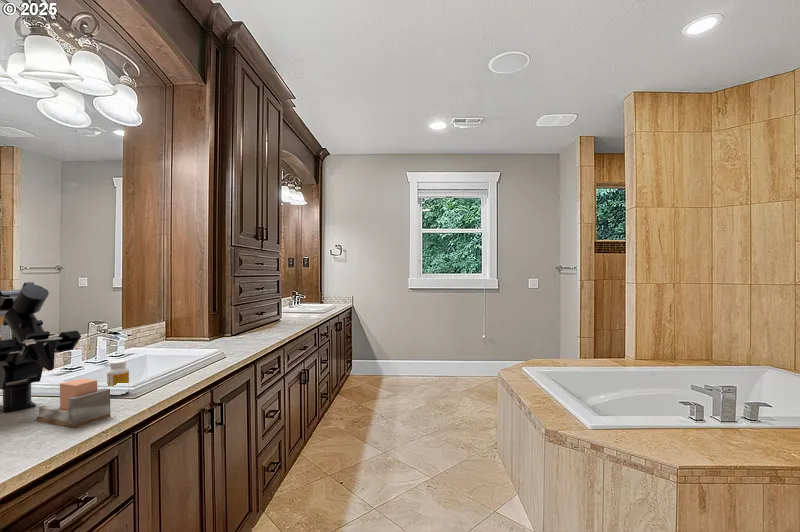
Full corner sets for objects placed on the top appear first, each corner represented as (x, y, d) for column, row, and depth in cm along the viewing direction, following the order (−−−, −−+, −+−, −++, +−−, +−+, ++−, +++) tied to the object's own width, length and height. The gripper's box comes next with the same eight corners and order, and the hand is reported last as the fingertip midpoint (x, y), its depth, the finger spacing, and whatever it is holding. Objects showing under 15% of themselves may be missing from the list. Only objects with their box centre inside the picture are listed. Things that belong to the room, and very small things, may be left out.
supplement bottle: (133, 391, 127) (133, 359, 127) (119, 396, 121) (119, 363, 121) (117, 391, 127) (116, 359, 127) (102, 396, 122) (102, 363, 122)
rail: (36, 420, 103) (36, 393, 103) (74, 409, 111) (73, 384, 111) (74, 428, 97) (73, 399, 97) (110, 416, 105) (110, 389, 105)
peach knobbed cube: (58, 413, 102) (58, 383, 102) (80, 407, 107) (80, 378, 107) (75, 416, 100) (75, 385, 100) (97, 410, 104) (97, 380, 104)
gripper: (52, 340, 122) (77, 380, 118) (-33, 352, 105) (-7, 400, 101) (68, 314, 119) (94, 354, 115) (-16, 322, 102) (11, 369, 98)
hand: (51, 369), depth 107 cm, fingers closed
